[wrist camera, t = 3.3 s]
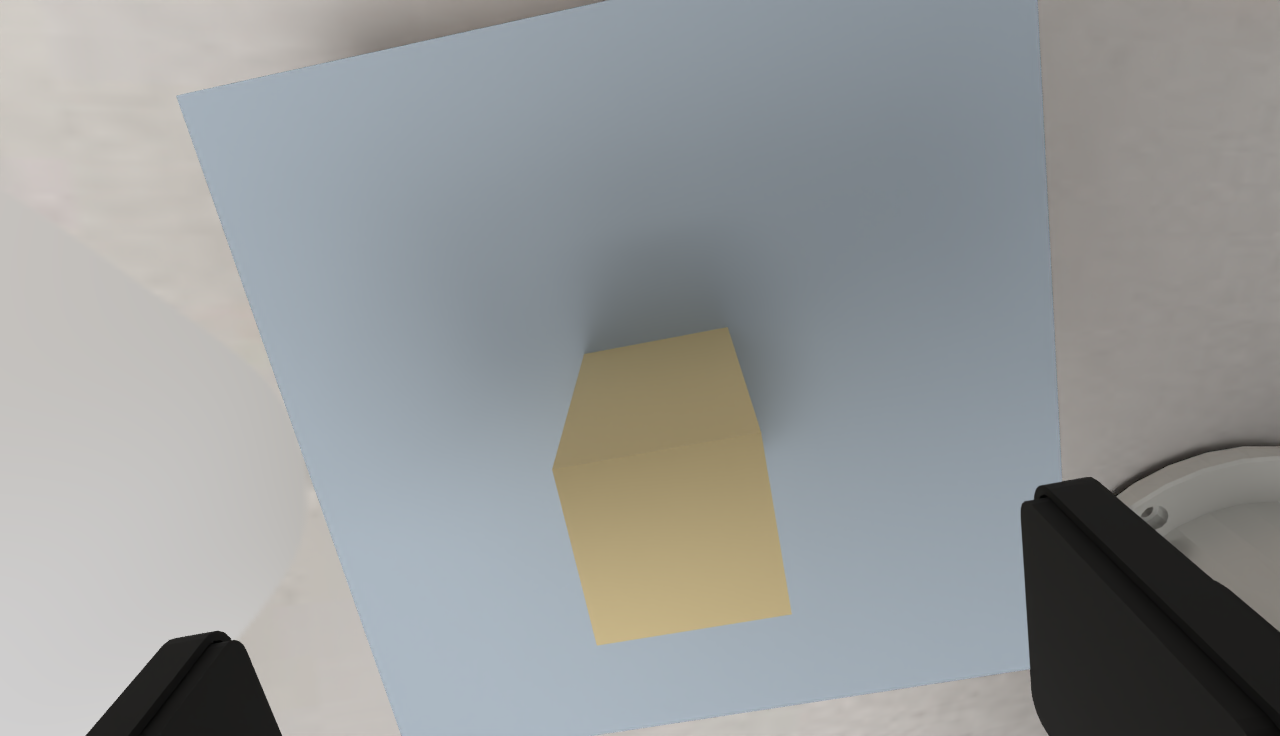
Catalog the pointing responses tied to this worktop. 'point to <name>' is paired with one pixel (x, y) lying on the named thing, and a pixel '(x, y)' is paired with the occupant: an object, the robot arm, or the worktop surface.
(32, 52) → the worktop surface
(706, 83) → the lid
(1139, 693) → the robot arm
